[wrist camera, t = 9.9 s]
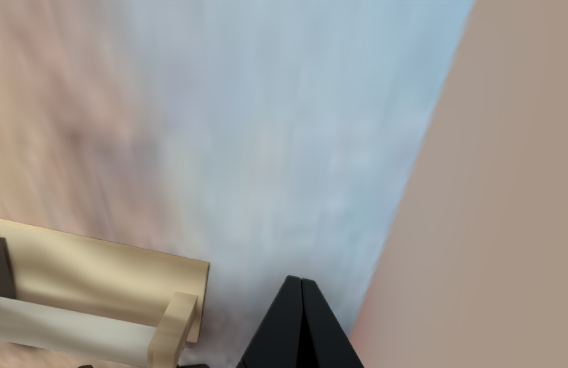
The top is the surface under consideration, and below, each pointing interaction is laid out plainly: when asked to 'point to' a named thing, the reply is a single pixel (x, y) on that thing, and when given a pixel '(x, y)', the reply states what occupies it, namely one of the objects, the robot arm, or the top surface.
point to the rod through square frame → (99, 297)
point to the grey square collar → (5, 277)
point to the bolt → (89, 367)
